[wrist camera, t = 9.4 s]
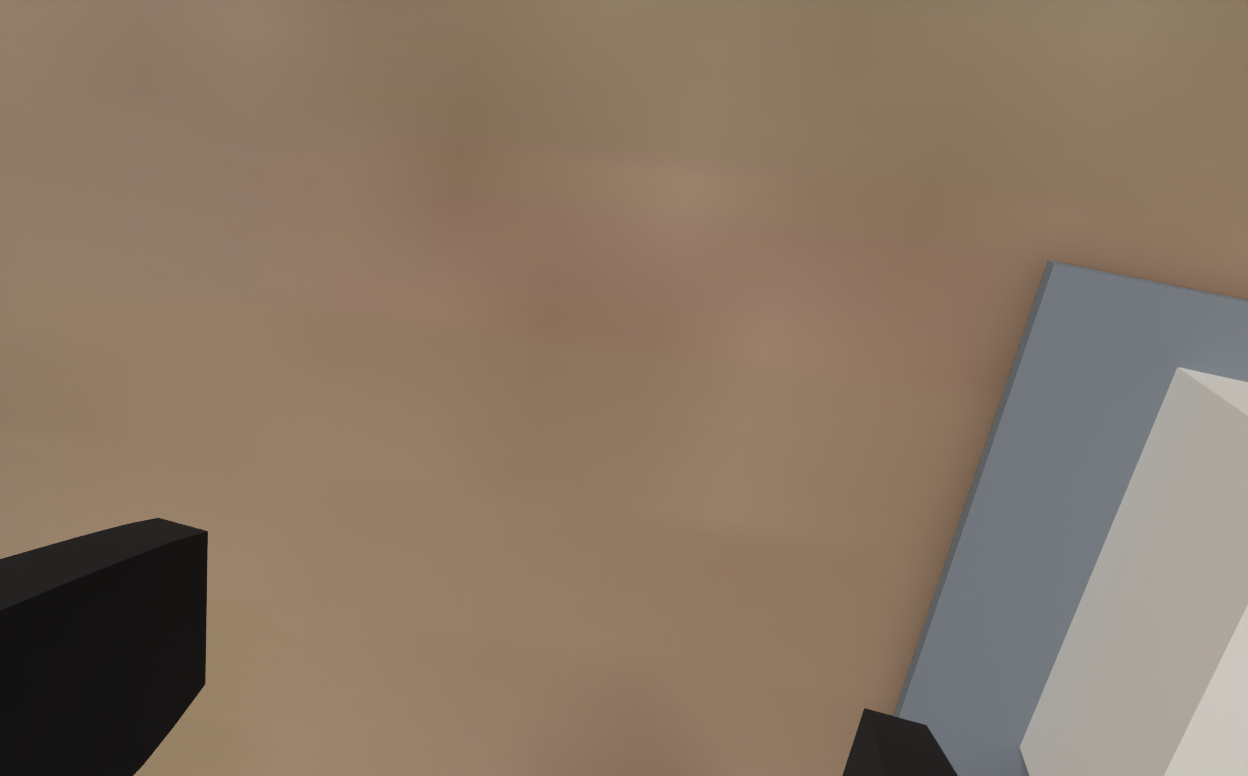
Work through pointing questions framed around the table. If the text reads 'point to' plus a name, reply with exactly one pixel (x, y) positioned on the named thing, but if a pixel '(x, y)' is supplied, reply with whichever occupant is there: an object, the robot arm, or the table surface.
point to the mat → (1053, 496)
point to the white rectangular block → (1162, 609)
